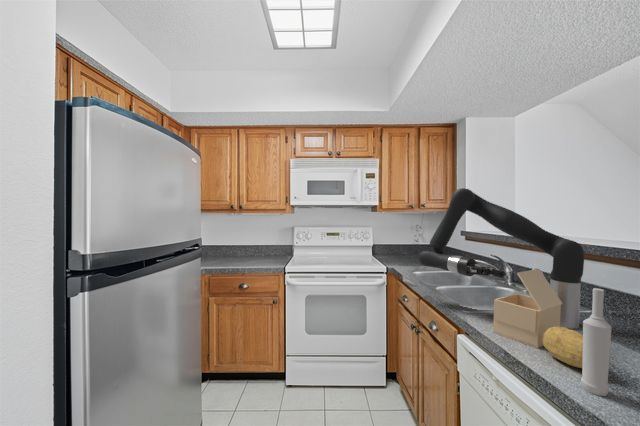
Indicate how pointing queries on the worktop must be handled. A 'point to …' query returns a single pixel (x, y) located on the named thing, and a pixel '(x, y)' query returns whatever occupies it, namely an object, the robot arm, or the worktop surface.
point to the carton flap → (539, 289)
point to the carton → (523, 319)
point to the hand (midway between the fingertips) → (503, 274)
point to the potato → (564, 345)
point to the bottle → (596, 348)
